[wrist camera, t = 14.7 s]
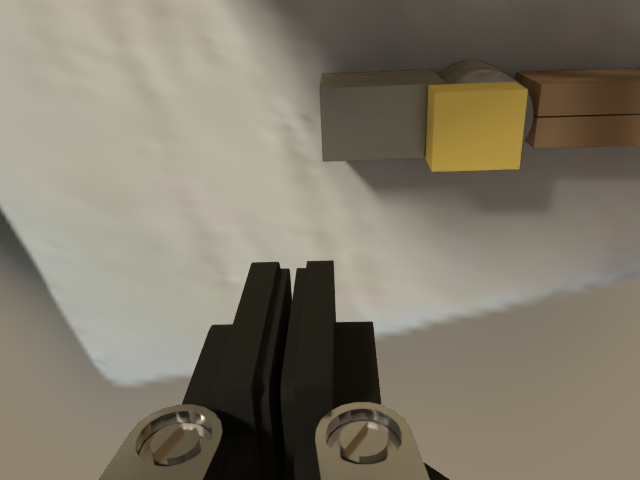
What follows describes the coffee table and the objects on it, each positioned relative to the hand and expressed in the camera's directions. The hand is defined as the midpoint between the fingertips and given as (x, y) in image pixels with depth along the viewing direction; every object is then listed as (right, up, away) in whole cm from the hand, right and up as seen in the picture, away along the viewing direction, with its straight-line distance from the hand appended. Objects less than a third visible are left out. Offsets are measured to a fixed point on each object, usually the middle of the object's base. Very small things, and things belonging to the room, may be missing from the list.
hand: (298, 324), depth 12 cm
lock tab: (+8, +7, +15) cm, 19 cm away
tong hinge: (+6, +9, +20) cm, 23 cm away
